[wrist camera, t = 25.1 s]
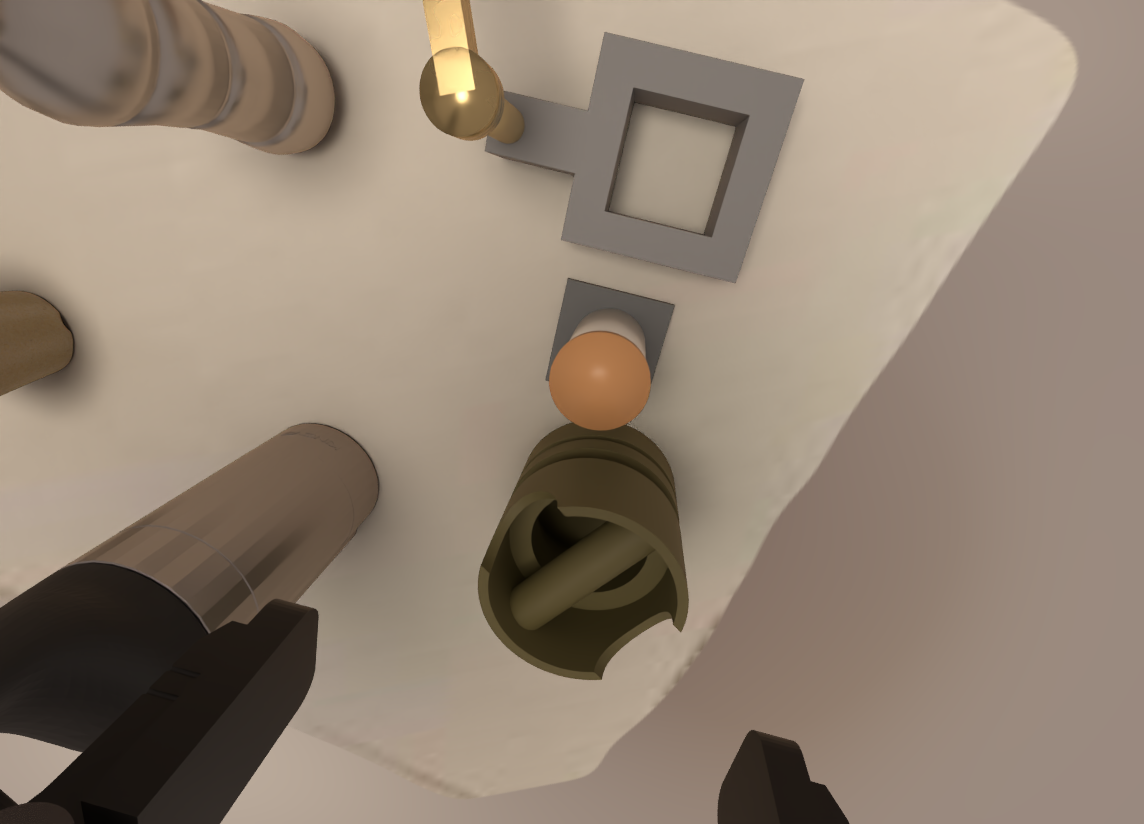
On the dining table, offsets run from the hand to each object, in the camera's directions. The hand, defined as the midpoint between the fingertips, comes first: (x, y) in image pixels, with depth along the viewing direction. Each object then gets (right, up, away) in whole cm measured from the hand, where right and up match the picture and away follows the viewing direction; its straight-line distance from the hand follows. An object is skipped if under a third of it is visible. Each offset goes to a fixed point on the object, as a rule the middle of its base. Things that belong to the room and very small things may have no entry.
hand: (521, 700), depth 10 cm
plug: (+3, +10, +26) cm, 28 cm away
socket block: (+4, +20, +22) cm, 30 cm away
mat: (+3, +10, +26) cm, 28 cm away
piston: (+3, 0, +30) cm, 31 cm away
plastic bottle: (-16, +24, +23) cm, 37 cm away
